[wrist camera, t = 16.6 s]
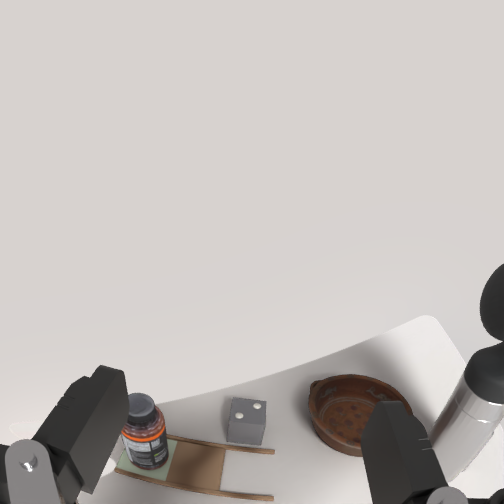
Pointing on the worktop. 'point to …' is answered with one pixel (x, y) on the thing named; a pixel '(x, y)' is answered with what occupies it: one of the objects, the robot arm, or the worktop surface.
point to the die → (247, 421)
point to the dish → (347, 408)
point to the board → (191, 467)
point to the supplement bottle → (145, 433)
